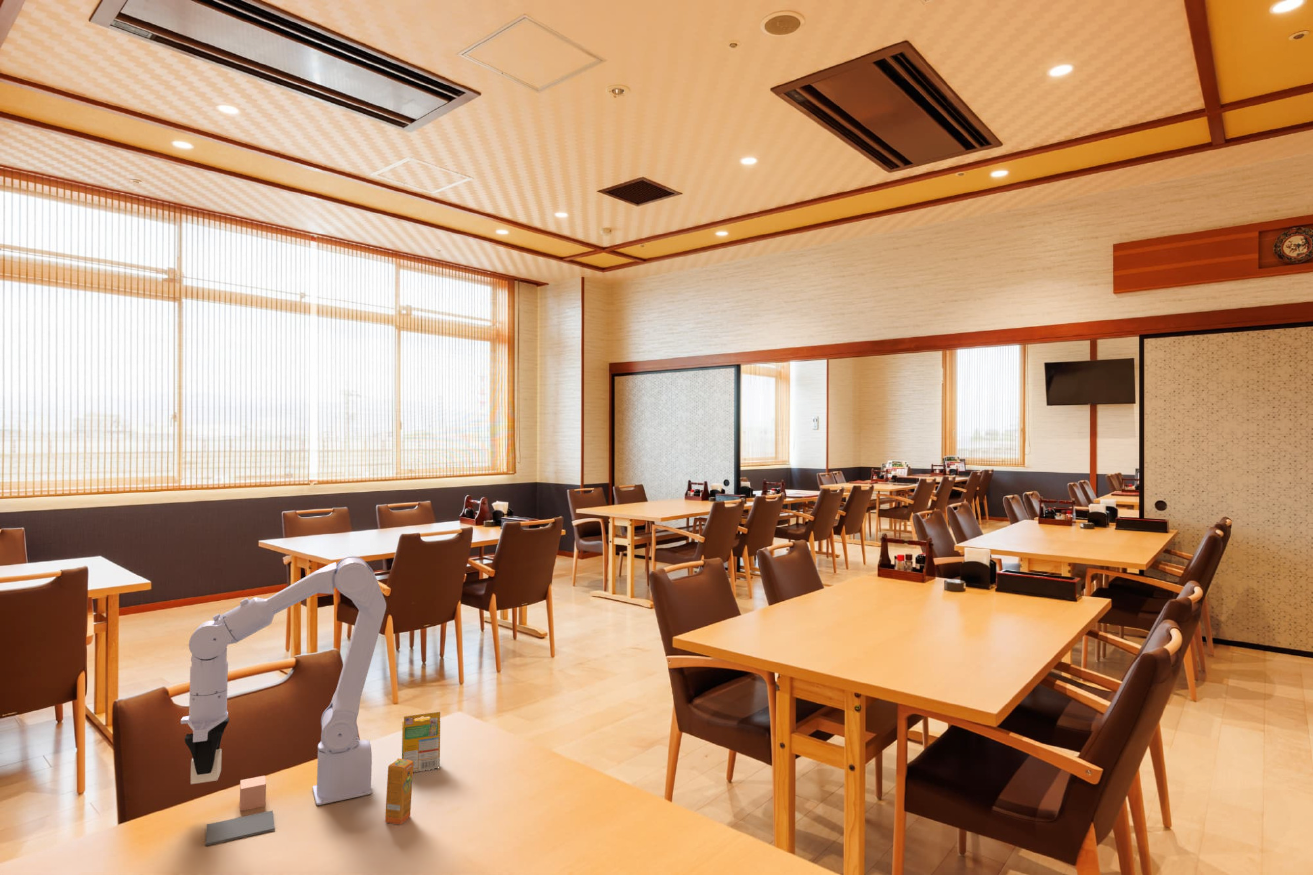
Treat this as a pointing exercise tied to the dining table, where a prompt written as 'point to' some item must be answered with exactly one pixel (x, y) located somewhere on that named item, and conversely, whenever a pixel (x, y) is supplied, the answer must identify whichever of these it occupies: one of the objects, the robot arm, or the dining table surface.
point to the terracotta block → (252, 793)
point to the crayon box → (422, 741)
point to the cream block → (210, 776)
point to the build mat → (239, 827)
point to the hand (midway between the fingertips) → (206, 767)
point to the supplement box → (399, 791)
